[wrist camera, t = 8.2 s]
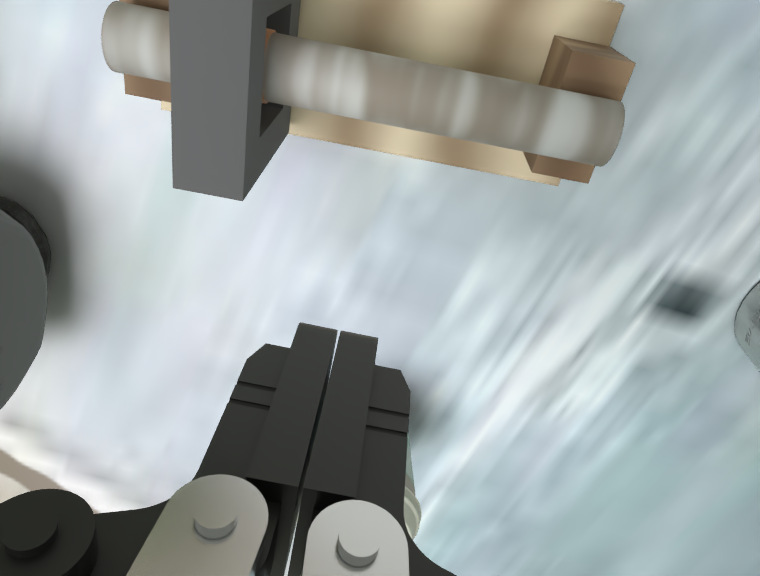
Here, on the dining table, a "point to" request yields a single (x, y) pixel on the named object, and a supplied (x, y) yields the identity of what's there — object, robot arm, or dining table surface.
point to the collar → (224, 92)
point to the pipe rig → (427, 78)
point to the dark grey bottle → (20, 294)
